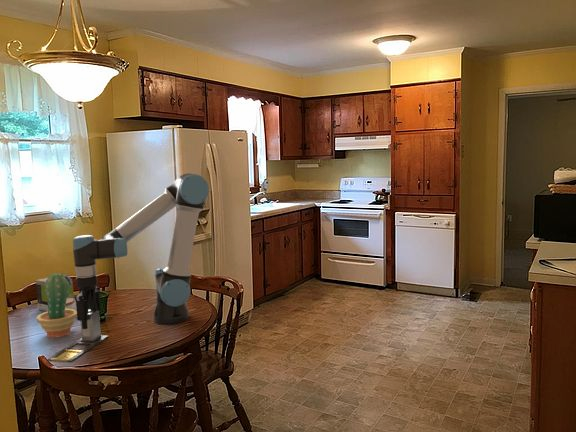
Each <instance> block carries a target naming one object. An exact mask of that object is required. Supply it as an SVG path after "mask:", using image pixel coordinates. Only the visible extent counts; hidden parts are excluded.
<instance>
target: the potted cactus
mask: <svg viewBox="0 0 576 432" xmlns="http://www.w3.org/2000/svg"><path fill="white" fill-rule="evenodd" d="M46 278H47V280H46V282H45V284H44V285H45V292H46V296H47V299H48V312H46V311H43V312H42V313H40V314H37V316H36V318H35V320H36V322H37V323H39V324H40V326H41V328H42V329H43V331H44V332H45V333H46V337H48V338H59V337H60V338H61V337H64V336H67V335H69V334H71V332H72V330H71V328H72V327H73V325H74V322H75V320H76V319H77V309H75V308H74V309H65V305H66V299H67V297H68V294H69V285H70V287H71V286H72V284H71V283H72V281H73V280H72V281H71V279H72V278H71V277H70V276H69V275H68V274H62V272H59V273H57V272H54V273H50V274H49V276H48V277H46Z"/></svg>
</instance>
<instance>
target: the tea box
mask: <svg viewBox="0 0 576 432" xmlns="http://www.w3.org/2000/svg"><path fill="white" fill-rule="evenodd" d="M47 278H48V277H44V278H40V279H39V278H38V279H36V280H35V287H36V300H37V310H39V311H43V312H48V299H47V296H46V292H45V285H44V284H45V282H46V280H47ZM70 279H71V281H72V283H71V284H72V286H71V287H70V285H69V294H68V297H67V298H73V299H74V300H75V296H74V294H75V293H74V283H73V278H70Z"/></svg>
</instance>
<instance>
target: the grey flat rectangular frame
mask: <svg viewBox="0 0 576 432" xmlns="http://www.w3.org/2000/svg"><path fill="white" fill-rule="evenodd" d="M107 338H109V335H104V334H101V337H100V338H99V339H97V340H96V341H94V342H89V341H82V337H80V338H78V339H77V340H75V341H74V342H72V343H70V344H69V345H68V346H65V347H64V348H62V349H61V350H60V351H58V352H56V353H54V354H53V355H51V356H49V357H48V358H47V359H48V360H47V361H50V362H52V361H53V362H65V363H67V362H68V363H69V362H70V363H72V362H74V361H75V360H77V359H78V358H80V357H81V356H83V355H84V354H85V353H87V352H89V350H91V349H93V348H95V347H96V346H98V345H99V344H100V343H102V342H103V341H104V340H106V339H107ZM77 345H84V346H86V345H87V346H86V347H85V348H84V349H82V350H81V349H72V348H74V347H75V346H77Z"/></svg>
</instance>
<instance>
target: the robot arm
mask: <svg viewBox="0 0 576 432" xmlns="http://www.w3.org/2000/svg"><path fill="white" fill-rule="evenodd" d="M209 194H210V185H209V184H208V182H207V179H205V178H204V177H203V176H201V175H200V174H196V173H189V172H188V173H184V174H182V175H180V176H179V177H177V178H176V179H175V180H174V181H173V182H172V183H170V184H169V185H168V186H166V188H165V189H164V192H163V193H162V194H160V195H159V196H158V197H156V198H155V199H154V200H152V201H151V202H150V203H148V204H146V205H145V206H144V207H142V209H139V210H138V211H137V212H135V214H133V215H132V216H131V217H129V218H128V219H126V220H125V221H123V222H122V223H121V224H120V225H119V226H117V227H116V228H114V229H113V230H111V231H110V232H108V233H105V234H104V235H103V236H102V238H101V239H95V237H94V236H93V235H92V234H91V235H90V234H83V235H78V236H74V238H73V240H72V251H73V260H74V270H75V276H76V278H75V284H76V287H77V288H79V290H78V295H75V296H74V302H75V308H76V309H75V310H76V311H77V316H76V320H77V321H79V322H80V321H82V329H83V336H84V337H90V336H91V333H90V322H89V320H88V310H99V315H101V312H102V305H101V293H100V292H101V287H100V286H97V285H98V276H97V273H98V272H97V265H96V264H97V263H96V261H97V260H104V259H115V258H117V259H119V258H124V257H127V256H128V242H129V241H131V240H132V239H134V238H135V237H136V236H138V235H139V234H141V233H142V232H144V231H145V230H146V229H147V228H149V227H150V226H152V224H154V223H155V222H157V221H158V220H160V219H161V218H162V217H163V216H165V215H166V214H167V213H169V212H170V211H172V210H173V209H175V207H176V208H177V212H176V218H175V222H174V229H173V234H172V240H171V246H170V249H169V250H170V251H169V257H168V261H167V266H165V267H158V268H156V269H155V273H154V277H155V292H156V294H155V296H156V305H155V308H154V312H153V322H154V323H156V324H160V325H161V324H162V325H172V324H177V323H178V324H179V323H182V322H185V321H186V320H189V317H190V313H189V310H188V306H187V304H186V302H188V300H189V298H190V297H191V296H190V295H191V287H190V284H191V279H192V273H191V271H190V270H189V268H190V264H191V257H192V252H193V248H194V247H193V246H194V242H195V237H196V231H197V226H198V219H199V214H200V213H201V212H202V211H203V210H204V208H205V203H206V200H207V198H208V197H209Z"/></svg>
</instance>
